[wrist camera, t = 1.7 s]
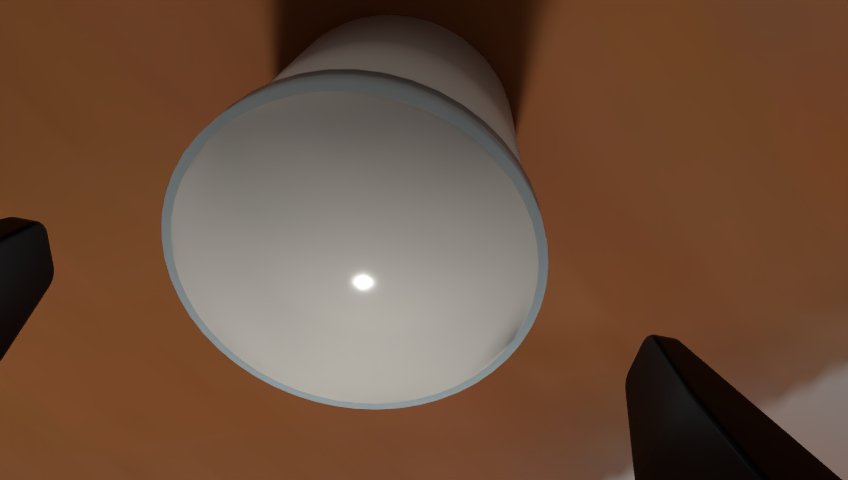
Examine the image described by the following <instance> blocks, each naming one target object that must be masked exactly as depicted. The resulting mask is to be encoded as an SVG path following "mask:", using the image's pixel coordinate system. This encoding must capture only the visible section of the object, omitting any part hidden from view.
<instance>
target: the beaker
mask: <svg viewBox="0 0 848 480" xmlns="http://www.w3.org/2000/svg"><path fill="white" fill-rule="evenodd" d="M162 244H163V250H164V257H165V261H166V265H167V268H168V272H169V275H170V278H171V281H172V283H173V285H174V287H175V290H176V292H177V294H178V296H179V299H180V300H181V302H182V304H183V305H184V307H185V309H186V310H187V312H188V313H189V315H190V317H191V318H192V319H193V321H194V322H195V323H196V324H197V326H198V327H199V328H200V330H201V331H202V332H203V333H204V335H205V336H206V337H207V338H208V339H209V340H210V341H211V342H212V343H213V344H214V345H215V346H216V347H217V348H218V349H219V350H220V351H221V352H223V353H224V354H225V355H226V356H228V357H229V358H230V359H231V360H232V361H234V362H235V363H236V364H237V365H239V366H240V367H242V368H243V369H245V370H246V371H248V372H249V373H251V374H252V375H254V376H256V377H257V378H259V379H261V380H263V381H265V382H267V383H269V384H270V385H272V386H274V387H277V388H279V389H281V390H284V391H286V392H288V393H291V394H293V395H296V396H299V397H302V398H305V399H309V400H312V401H315V402H320V403H324V404H329V405H333V406H339V407H347V408H355V409H393V408H403V407H409V406H415V405H421V404H425V403H428V402H432V401H436V400H440V399H442V398H445V397H447V396H450V395H453V394H455V393H458V392H460V391H462V390H464V389H466V388H468V387H470V386H471V385H473V384H475V383H477V382H479V381H480V380H481V379H483V378H484V377H486V376H487V375H489V374H490V373H492V372H493V371H494V370H496V369H497V368H498V367H499V366H500V365H501V364H502V363H503V362H504V361H506V360H507V359H508V358H509V357H510V356H511V354H512V353H513V352H514V351H515V350H516V349H517V347H518V346H519V345H520V344H521V343H522V341H523V340H524V338H525V336H526V335H527V333H528V332H529V330H530V329H531V327H532V325H533V323H534V321H535V319H536V316H537V314H538V312H539V310H540V307H541V304H542V300H543V296H544V293H545V289H546V283H547V273H548V250H547V240H546V236H545V231H544V226H543V222H542V217H541V213H540V208H539V204H538V201H537V198H536V195H535V193H534V190H533V188H532V185H531V182H530V180H529V178H528V176H527V175H526V173H525V171H524V169H523V167H522V164H521V159H520V154H519V149H518V144H517V138H516V133H515V128H514V123H513V118H512V114H511V109H510V105H509V101H508V98H507V96H506V93H505V90H504V88H503V86H502V84H501V82H500V80H499V78H498V77H497V75H496V73H495V72H494V70H493V69H492V68H491V66H490V65H489V63H488V62H487V61H486V60H485V58H484V57H483V56H482V55H481V54H480V53H479V52H478V51H477V50H476V49H475V48H474V47H473V46H471V45H470V44H469V43H468V42H466V41H465V40H464V39H462V38H461V37H460V36H458V35H456V34H455V33H453V32H451V31H450V30H448V29H446V28H444V27H441V26H439V25H437V24H434V23H432V22H429V21H426V20H422V19H418V18H415V17H408V16H400V15H376V16H370V17H363V18H359V19H356V20H353V21H349V22H346V23H344V24H342V25H340V26H338V27H335V28H333V29H331V30H330V31H328V32H327V33H325V34H324V35H322V36H321V37H319V38H318V39H316V40H315V41H314V42H313V43H312V44H311V45H310V46H309V47H307V48H306V49H305V50H304V51H303V52H302V53H301V54H300V55H299V56H298V57H297V58H296V59H295V60H293V61H292V62H291V63H290V64H289V65H288V66H287V67H286V68H285V69H284V70H283V71H282V72H281V73H280V74H279V75H277V76H276V77H275V78H274V79H273V80H272V81H271V82H270V83H269V84H267V85H265V86H262V87H260V88H258V89H256V90H254V91H252V92H250V93H249V94H247V95H246V96H244V97H243V98H241V99H240V100H238V101H236V102H235V103H233V104H232V105H231V106H229V107H228V108H227V109H226V110H225V111H224V112H223V113H222V114H220V115H219V116H218V117H217V118H216V119H215V120H214V121H213V122H211V123H210V124H209V125H208V126H207V127H206V128H205V129H204V130H203V131H202V132H200V133H199V134H198V136H197V137H196V138H195V139H194V141H193V142H192V143H191V144H190V146H189V147H188V148H187V149H186V151H185V152H184V153H183V155H182V157H181V159H180V161H179V162H178V164H177V166H176V168H175V170H174V172H173V174H172V177H171V179H170V182H169V185H168V188H167V191H166V194H165V200H164V205H163V211H162Z"/></svg>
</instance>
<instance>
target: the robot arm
mask: <svg viewBox="0 0 848 480" xmlns="http://www.w3.org/2000/svg"><path fill="white" fill-rule="evenodd" d="M53 275H54V266H53V261H52V256H51V250H50V245H49V240H48V234H47V231H46V228H45V227H44V225H43V224H41V223H40V222H38V221H33V220H28V219H22V218H17V217H8V218H4V219H0V361H1V359H2V358H3V357H4V355H5V354H6V352H7V351H8V349H9V348H10V346H11V344H12V343H13V341H14V340H15V338H16V337H17V335H18V334H19V332H20V331H21V329H22V328H23V326H24V325H25V323H26V321H27V320H28V318H29V317H30V315H31V314H32V312H33V311H34V309H35V308H36V306H37V305H38V303H39V301H40V300H41V298H42V297H43V295H44V294H45V292H46V291H47V289H48V288H49V286H50V284H51V282H52V279H53ZM625 389H626V399H627V409H628V419H629V429H630V438H631V448H632V458H633V467H634V475H635V480H842V479H840V478H839V477H838V476H837V475H835V473H833V472H832V471H831V470H830V469H829V468H828V467H826V466H825V465H824V464H823V463H822V462H820V461H819V460H818V459H817V458H816V457H815V456H813V455H812V454H811V453H810V452H809V451H808V450H806V449H805V448H804V447H803V446H802V445H801V444H799V443H798V442H797V441H796V440H795V439H794V438H792V437H791V436H790V435H789V434H788V433H787V432H785V431H784V430H783V429H782V428H781V427H779V426H778V425H777V424H776V423H775V422H774V421H773V420H771V419H770V418H769V417H768V416H767V415H765V414H764V413H763V412H762V411H761V410H760V409H758V408H757V407H756V406H755V405H754V404H753V403H751V402H750V401H749V400H748V399H747V398H746V397H744V396H743V395H742V394H741V393H740V392H739V391H737V390H736V389H735V388H734V387H733V386H732V385H730V384H729V383H728V382H727V381H726V380H724V379H723V378H722V377H721V376H720V375H719V374H717V373H716V372H715V371H714V370H713V369H712V368H710V367H709V366H708V365H707V364H706V363H705V362H703V361H702V360H701V359H700V358H699V357H698V356H696V355H695V354H694V353H693V352H692V351H691V350H689V349H688V348H687V347H686V346H685V345H684V344H682V343H681V342H680V341H679V340H677V339H674V338H670V337H664V336H659V335H650V336H647V337H646V338H645V340H644V341H643V343H642V345H641V347H640V349H639V351H638V353H637V355H636V357H635V359H634V361H633V364H632V366H631V368H630V370H629V372H628V374H627V378H626V385H625Z"/></svg>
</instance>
